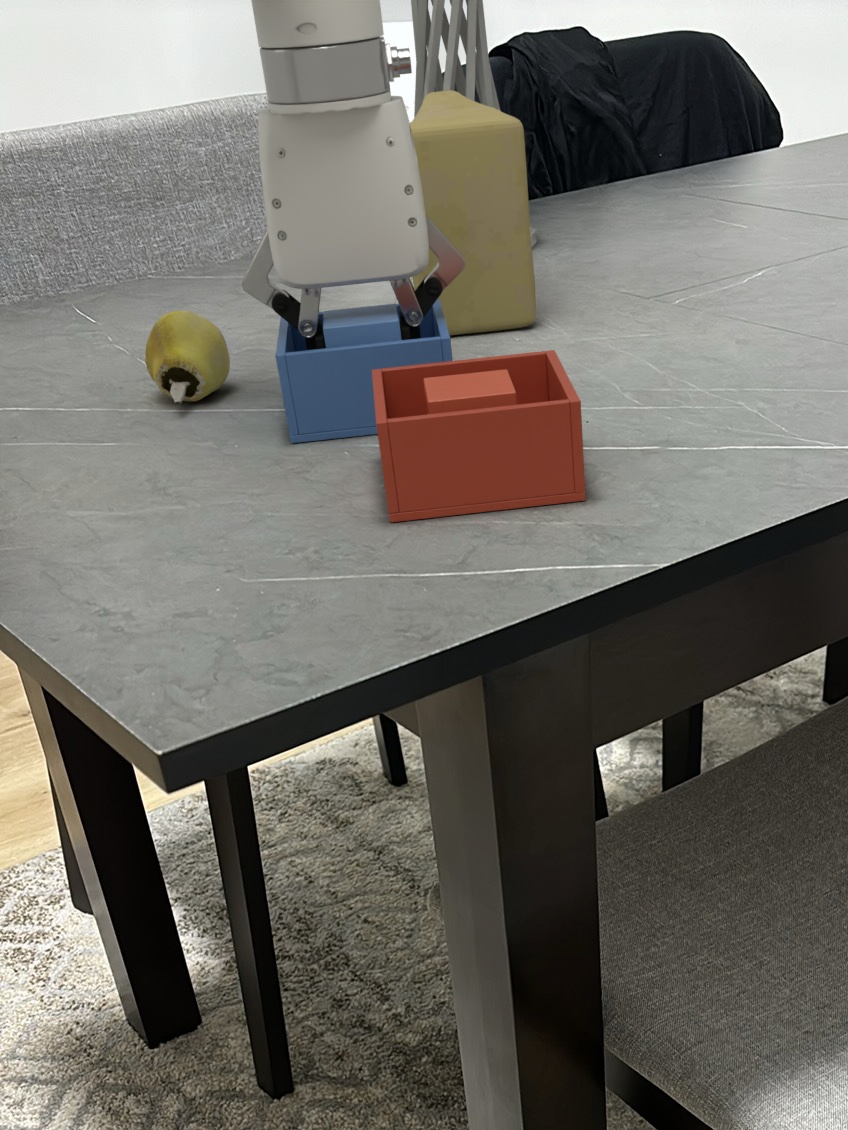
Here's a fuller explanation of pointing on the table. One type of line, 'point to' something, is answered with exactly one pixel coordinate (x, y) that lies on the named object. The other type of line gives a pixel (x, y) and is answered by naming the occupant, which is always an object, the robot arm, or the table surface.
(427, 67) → the vase
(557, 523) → the table surface
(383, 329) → the blue block
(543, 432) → the red bin
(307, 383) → the blue bin
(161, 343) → the mushroom
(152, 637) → the table surface
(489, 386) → the red block
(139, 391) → the table surface
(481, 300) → the cheese
